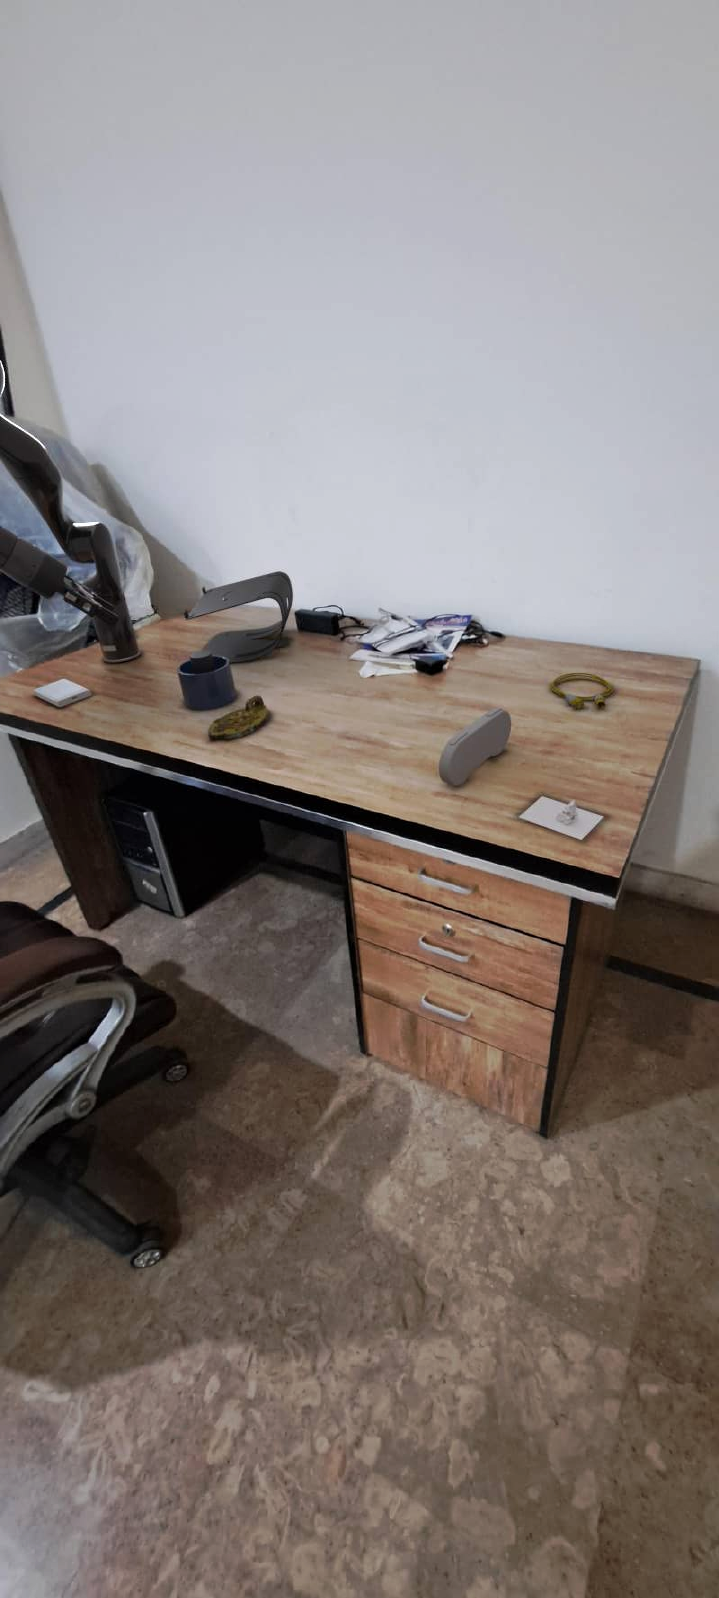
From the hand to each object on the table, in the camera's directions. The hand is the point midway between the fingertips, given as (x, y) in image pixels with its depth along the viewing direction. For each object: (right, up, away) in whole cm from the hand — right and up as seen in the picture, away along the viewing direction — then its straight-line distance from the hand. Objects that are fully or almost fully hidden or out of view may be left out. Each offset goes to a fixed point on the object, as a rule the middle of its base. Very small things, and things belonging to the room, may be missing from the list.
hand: (114, 616), depth 135 cm
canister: (+16, -14, +13) cm, 25 cm away
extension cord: (+93, -15, +1) cm, 95 cm away
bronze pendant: (+25, -22, +1) cm, 33 cm away
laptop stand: (+20, +4, +42) cm, 47 cm away
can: (+16, -14, +14) cm, 26 cm away
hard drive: (-20, -12, +23) cm, 33 cm away
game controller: (+69, -31, -20) cm, 78 cm away
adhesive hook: (+79, -39, -35) cm, 95 cm away
